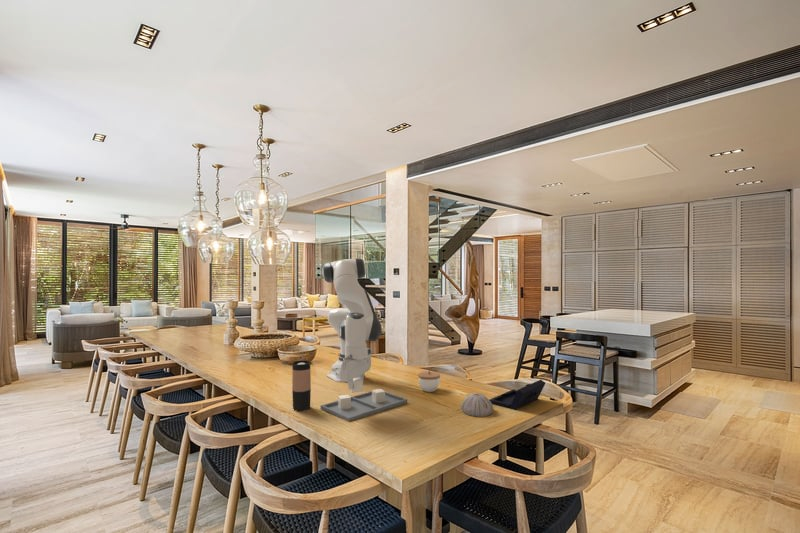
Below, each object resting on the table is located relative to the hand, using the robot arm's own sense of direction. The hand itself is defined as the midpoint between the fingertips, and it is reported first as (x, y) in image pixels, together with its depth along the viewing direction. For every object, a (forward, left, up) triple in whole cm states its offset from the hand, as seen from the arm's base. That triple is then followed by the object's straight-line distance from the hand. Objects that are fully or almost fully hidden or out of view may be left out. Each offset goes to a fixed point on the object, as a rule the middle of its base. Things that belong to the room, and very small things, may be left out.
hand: (356, 386), depth 164 cm
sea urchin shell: (+33, +37, -12) cm, 51 cm away
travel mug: (-22, -13, -12) cm, 28 cm away
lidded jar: (-2, +46, -12) cm, 48 cm away
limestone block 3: (-4, +16, -11) cm, 20 cm away
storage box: (+39, +60, -12) cm, 73 cm away
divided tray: (-5, +8, -12) cm, 15 cm away
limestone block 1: (-8, 0, -11) cm, 14 cm away
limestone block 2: (0, 0, -2) cm, 2 cm away
